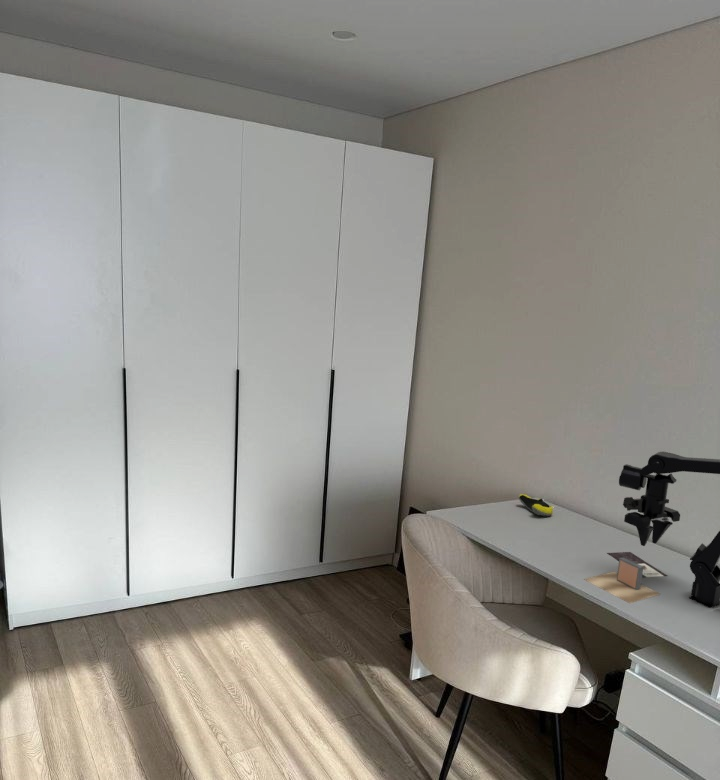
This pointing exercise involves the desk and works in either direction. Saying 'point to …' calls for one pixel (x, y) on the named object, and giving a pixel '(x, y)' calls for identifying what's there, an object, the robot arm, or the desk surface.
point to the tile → (630, 573)
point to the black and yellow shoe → (536, 505)
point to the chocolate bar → (647, 568)
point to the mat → (621, 588)
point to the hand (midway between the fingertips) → (648, 544)
